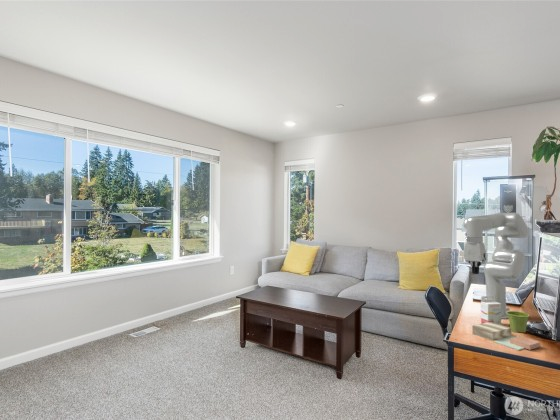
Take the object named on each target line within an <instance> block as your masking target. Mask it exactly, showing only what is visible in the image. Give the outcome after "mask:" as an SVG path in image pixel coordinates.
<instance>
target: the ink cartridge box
mask: <svg viewBox="0 0 560 420" xmlns="http://www.w3.org/2000/svg"><path fill="white" fill-rule="evenodd" d="M486 298H490V299H486ZM493 298H494V296H486V295H485V296H484V295H483V296H481V298H480V324H482V323H487V322H493V323H496V324H499V325H502V318H501V303H498V302H495V301H493Z"/></svg>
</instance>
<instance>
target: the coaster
mask: <svg viewBox="0 0 560 420" xmlns="http://www.w3.org/2000/svg"><path fill="white" fill-rule="evenodd" d="M510 343H511V344H514V345H517V346H520V347H523V348H525V349H526V350H529V351H530V350H531V351H532V350H534V349H538V348H540V347H541V341H538V340H536V339H535V340H534V339H532V338H528V337H525V336H522V335H519V336H517V337H514V338H511V339H510Z"/></svg>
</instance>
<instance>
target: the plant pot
mask: <svg viewBox="0 0 560 420" xmlns="http://www.w3.org/2000/svg"><path fill="white" fill-rule="evenodd" d="M506 313H507V315H508V317H509V318H508V321H509V326H510V328H511V332H512V331H513V332H515V333H526V332H527V327H528V326H527V325H528V320H529V317H530V314H528V313H526V312H523V311H515V310H513V311H512V310H510V311H507V312H506Z"/></svg>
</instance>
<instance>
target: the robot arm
mask: <svg viewBox="0 0 560 420" xmlns="http://www.w3.org/2000/svg"><path fill="white" fill-rule="evenodd" d="M463 227H464V228H465V230H466V237H465V238H464V240H465V243H464V246H463V247H464V248H463V259H464V261H465V262H466V263H468V264H469V265H470V267H471V273H472V275H479V274H480V267H481V266H482V265H483V272H484V273H483V274H484V277H485V290H486V291H485V292H486V293H485V296H494V298H493V301H495V302H498V303H501V320H502V319H509V317H508V315H507V313H506V312H507V311H511V309H510V307H507V294H506V293H507V288H506V284H505V283H504V281H503V280H506V281H507V280H508V281H517V280H518V279H519V278H520V277H521V274H522V273H523V272H522V271H523V269H524V266H525V263H526V256H525V253H524V252H523V251H522V250H520V249H519V250H518V249H514V248H515V245H514V244H513V243H512V241H511V240H510V239H511V238H512V239H525V238H527V237H529V234H530V232H529V231H530V230H529V227H528V225H527V223H526V222H525V220H524V219H523V217H522V216H521V215H520V214H519V213H518V212H497V213H492V214H484V215H477V216H469V217H467V218H465V219H464V220H463ZM491 230H494V235H495V239H496V243H497V244H496V246H495V248H494V251H493V253H492V256H491V261H487V251H486V245H485V242H484V233H483V232H485V231H486V232H488V231H491ZM509 238H510V239H509ZM486 261H487V262H486ZM486 299H490V298H486Z"/></svg>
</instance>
